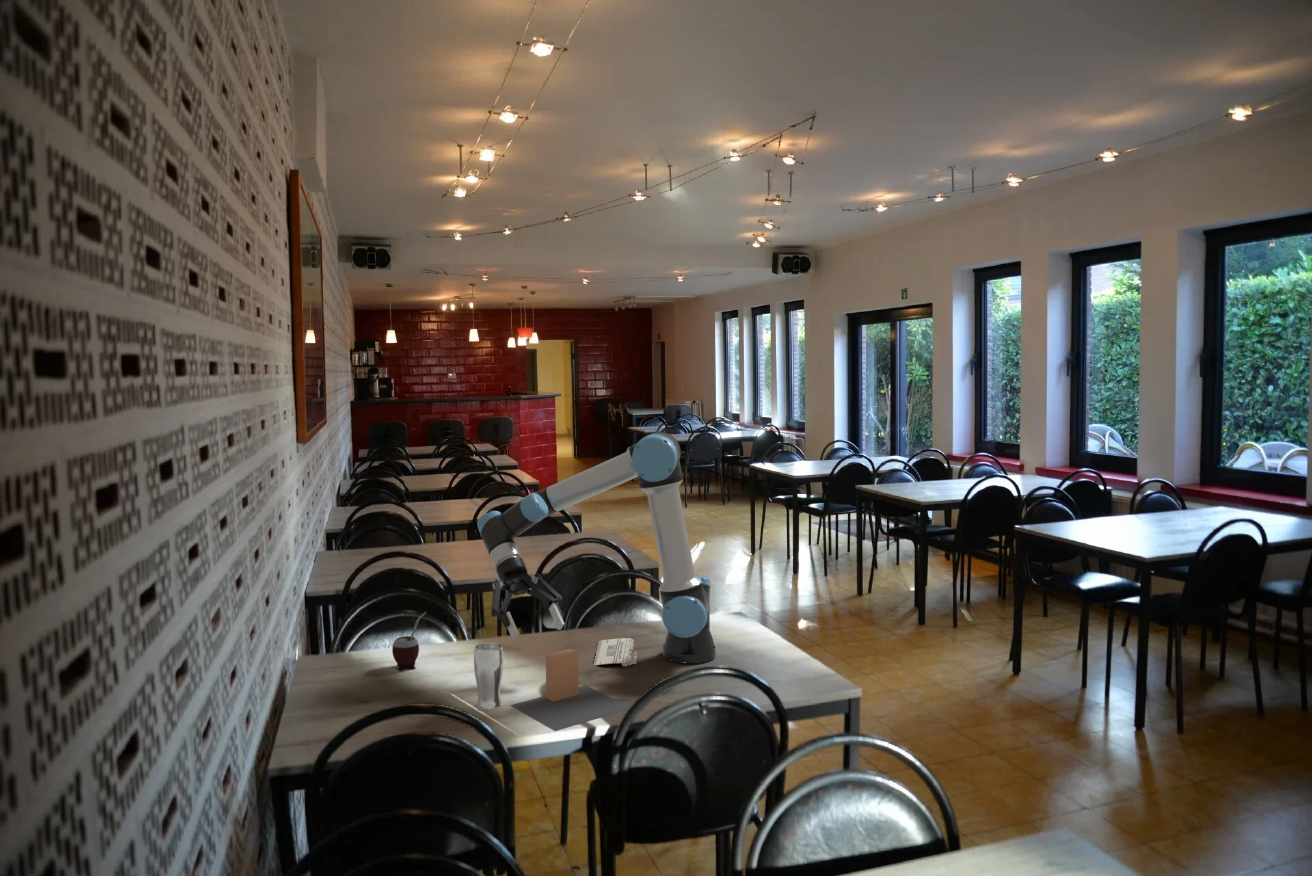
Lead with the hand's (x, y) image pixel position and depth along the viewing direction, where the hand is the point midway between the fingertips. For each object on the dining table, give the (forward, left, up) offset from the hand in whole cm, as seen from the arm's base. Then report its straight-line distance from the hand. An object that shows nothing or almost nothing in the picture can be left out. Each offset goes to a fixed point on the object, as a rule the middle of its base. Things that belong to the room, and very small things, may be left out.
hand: (539, 631), depth 232 cm
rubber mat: (+2, +17, -14) cm, 23 cm away
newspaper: (-31, -9, -15) cm, 36 cm away
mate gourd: (+20, -36, -15) cm, 43 cm away
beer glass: (+17, +4, -15) cm, 23 cm away
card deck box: (0, +10, -14) cm, 17 cm away
